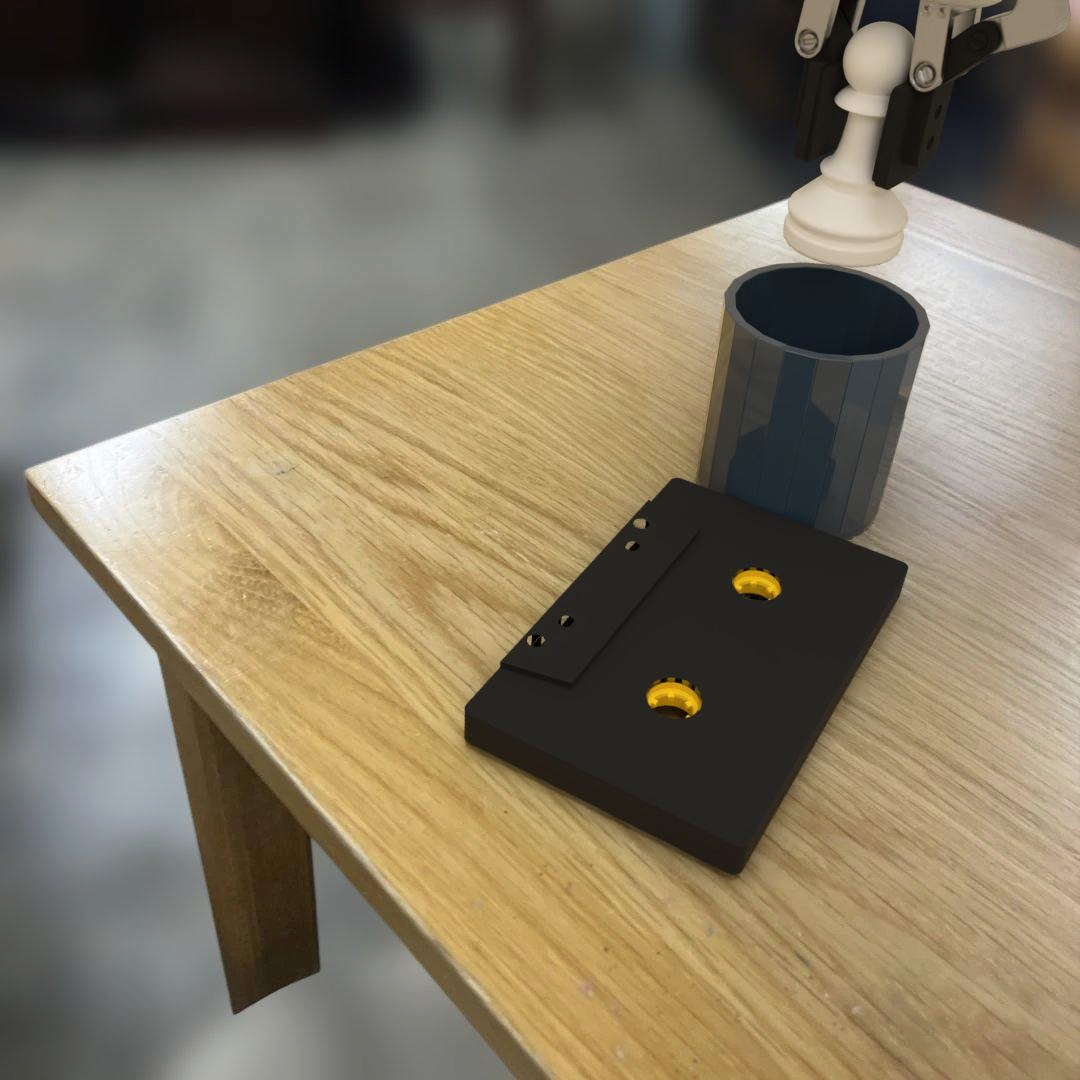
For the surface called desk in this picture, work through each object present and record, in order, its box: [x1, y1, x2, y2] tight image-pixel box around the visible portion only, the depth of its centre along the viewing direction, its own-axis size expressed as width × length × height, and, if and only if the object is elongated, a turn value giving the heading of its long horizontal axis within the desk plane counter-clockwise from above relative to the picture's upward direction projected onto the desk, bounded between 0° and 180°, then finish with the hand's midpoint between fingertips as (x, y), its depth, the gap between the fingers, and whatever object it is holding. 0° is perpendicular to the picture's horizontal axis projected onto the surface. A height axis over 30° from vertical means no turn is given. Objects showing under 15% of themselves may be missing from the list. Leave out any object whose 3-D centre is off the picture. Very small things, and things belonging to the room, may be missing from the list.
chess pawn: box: [782, 21, 915, 268], centre depth 50 cm, size 5×5×9 cm
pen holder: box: [695, 261, 931, 541], centre depth 58 cm, size 9×9×10 cm
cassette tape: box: [463, 477, 909, 876], centre depth 50 cm, size 18×12×2 cm, turn 149°
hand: (858, 161), depth 50 cm, fingers closed on chess pawn, 3 cm apart
